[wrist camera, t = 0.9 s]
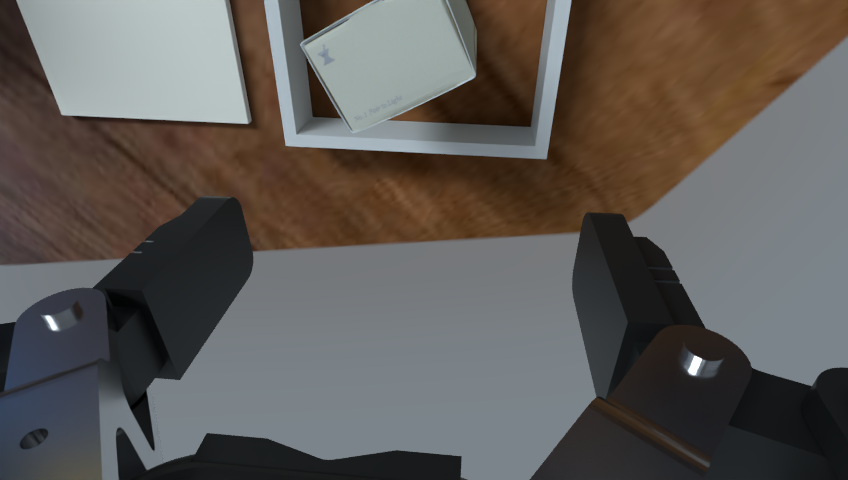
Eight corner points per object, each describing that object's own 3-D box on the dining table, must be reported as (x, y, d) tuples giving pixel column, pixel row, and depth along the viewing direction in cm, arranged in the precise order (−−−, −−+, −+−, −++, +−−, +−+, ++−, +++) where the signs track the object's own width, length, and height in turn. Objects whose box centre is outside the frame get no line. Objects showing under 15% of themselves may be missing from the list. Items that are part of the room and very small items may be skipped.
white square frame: (269, -132, 26) (242, -140, 23) (580, -132, 25) (593, -140, 22) (303, 127, 34) (285, 145, 31) (540, 138, 33) (546, 159, 30)
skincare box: (392, 73, 32) (347, 141, 21) (358, 6, 30) (292, 44, 19) (481, 30, 30) (480, 82, 19) (452, -46, 28) (433, -33, 17)
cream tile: (-26, -126, 28) (-35, -127, 28) (206, -126, 27) (200, -127, 26) (67, 112, 36) (61, 115, 35) (251, 121, 34) (248, 123, 34)
